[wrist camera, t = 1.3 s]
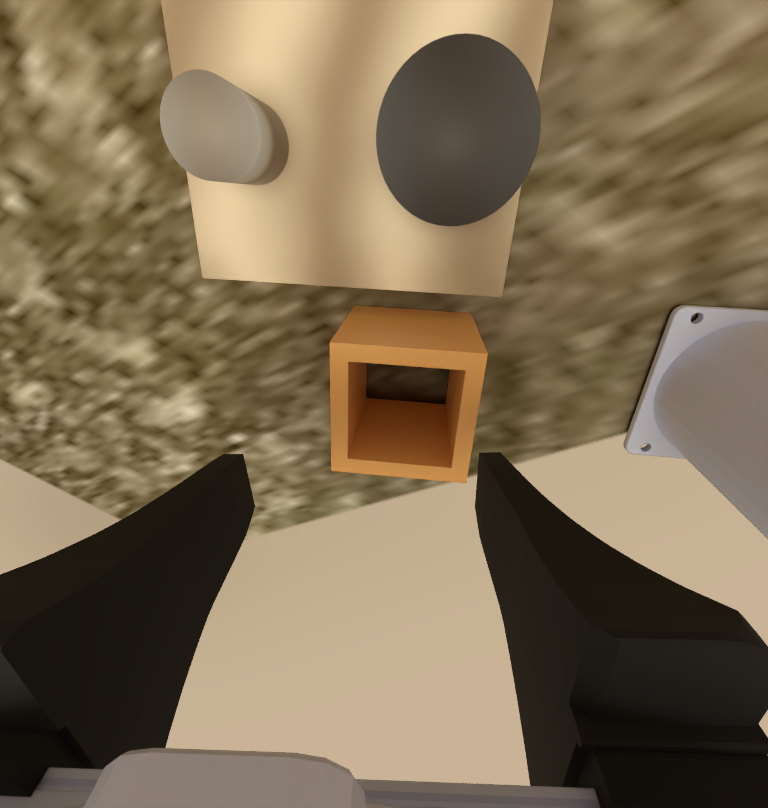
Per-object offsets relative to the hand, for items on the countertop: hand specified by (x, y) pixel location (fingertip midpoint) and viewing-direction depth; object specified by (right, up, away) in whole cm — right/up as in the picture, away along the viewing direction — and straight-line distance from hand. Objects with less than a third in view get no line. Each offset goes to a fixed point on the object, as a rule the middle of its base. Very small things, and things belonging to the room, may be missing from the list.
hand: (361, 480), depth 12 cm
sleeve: (+2, +4, +9) cm, 10 cm away
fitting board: (-1, +13, +5) cm, 14 cm away
